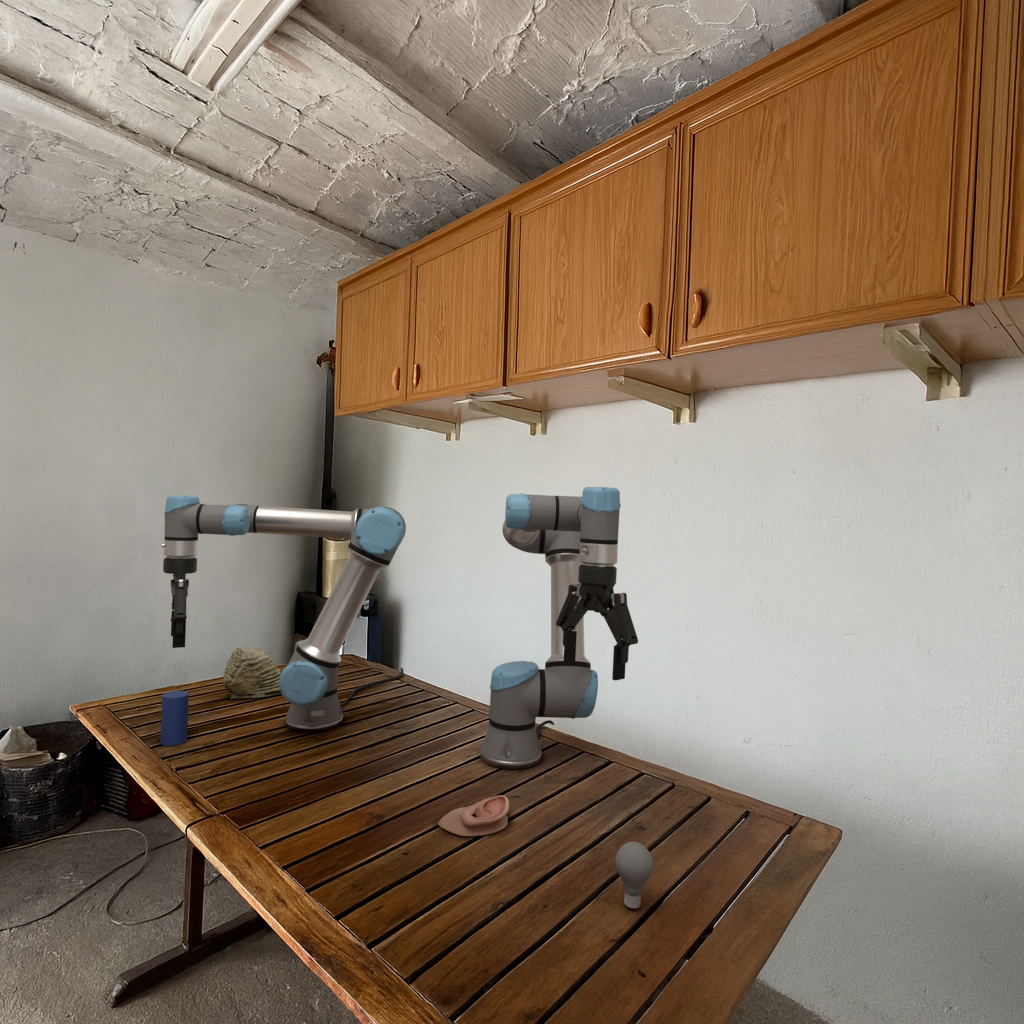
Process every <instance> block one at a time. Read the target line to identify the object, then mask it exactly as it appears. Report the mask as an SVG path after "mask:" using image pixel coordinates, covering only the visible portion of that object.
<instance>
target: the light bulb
mask: <svg viewBox="0 0 1024 1024" xmlns="http://www.w3.org/2000/svg"><path fill="white" fill-rule="evenodd" d="M614 864H615V868H616V871H617V873H618V876H619V877H620V880H621V881H622V888H623V890H624V898H623V899H624V900H623V903H624V905H625V906H627V907H628V908H630V909H638V908H640V907H641V900H642V893H643V892H644V888H645V885H646V884H647V882H648V881H649V879H650V878H651V876H652V874H653V871H654V859H653V856H652V854H651V852H650V851H649V849H648V848H647V847H646V846H645V845H644V844H642V843H640V842H637V841H628V842H625V843H623V845H621V846H620V847H619V848H618V850H617V852H616V854H615V863H614Z"/></svg>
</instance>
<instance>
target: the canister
mask: <svg viewBox="0 0 1024 1024" xmlns="http://www.w3.org/2000/svg"><path fill="white" fill-rule="evenodd" d="M189 697H190V692H188V691H186V690H173V691H168V692H165V693H162V695H161V713H160V715H161V716H160V741H159V743H160V745H161V746H164V747H173V746H174V747H175V746H179V745H182V744H185V743H186V742H187V741H188V729H189V727H188V726H189V703H190V702H189V699H190V698H189Z"/></svg>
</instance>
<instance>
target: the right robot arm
mask: <svg viewBox="0 0 1024 1024" xmlns="http://www.w3.org/2000/svg"><path fill="white" fill-rule="evenodd" d="M505 501H506V502H505V508H504V509H505V513H504V520H503V524H502V535H503V538H504V539H505V542H507V544H509V546H511V547H513V548H515V549H517V550H519V551H521V552H524V553H529V554H533V555H535V554H537V555H544V556H545V557H544V558H545V559H544V560H545V563H547V565H548V566H549V567H550V634H551V635H550V645H551V646H550V657H548V659H547V660H546V661H545V663H544V668H539V666H538V664H537V663H536V662H534V661H527V660H516V661H515V660H514V661H508V662H505V663H501V664H499V665H496V667H495V668H493V670H492V672H491V676H490V684H489V689H490V699H489V714H488V717H489V718H488V727H487V730H486V733H485V736H484V739H483V742H482V744H481V746H480V755H479V756H480V759H481V761H483V762H484V763H486V764H487V765H490V766H492V767H495V768H499V769H503V770H504V769H505V770H524V769H529V768H532V767H534V766H537V765H538V764H539V763H541V760H542V747H541V745H540V739H539V737H541V736H542V734H543V733H542V730H541V728H542V727H543V726H545V725H548V724H550V725H551V726H554V725H555V723H554V721H553V720H550V719H547V720H544V721H543V722H541V723H539V724H538V725H537V726H536V719H537V718H551V719H552V718H554V719H555V718H557V719H558V718H559V719H572V720H575V719H585V718H586V719H587V718H589V717H590V716H592V714H593V713H594V710H595V707H596V703H597V697H598V691H599V679H598V678H599V677H598V676H599V675H598V672H597V671H596V670H594V669H592V665H591V664H592V663H591V661H590V660H589V659H588V658H587V657H586V656H585V617H584V616H585V615H586V614H587V613H588V611H589V612H594V613H597V614H598V613H600V614H599V615H600V616H601V617H603V618H604V620H605V623H606V624H607V626H608V628H609V630H610V633H611V635H612V636H613V638H614V640H615V642H616V644H615V645H613V653H612V655H613V657H612V675H611V676H612V677H611V679H612V681H615V682H616V681H620V680H625V679H626V664H628V662H629V653H630V652H629V651H630V646H632V645H636V644H638V643H639V638H638V635H637V632H636V629H635V625H634V622H633V619H632V616H631V612H630V609H629V606H628V595H627V593H626V592H616V593H615V591H614V587H615V585H616V584H617V574H618V573H617V572H618V568H617V567H616V566H615V565H617V564H618V552H619V544H618V543H619V527H620V511H621V493H620V490H619V489H618V488H616V487H606V486H586V487H584V488H583V490H582V494H581V496H574V495H572V496H571V495H547V494H528V493H527V494H526V493H524V492H523V493H510V494H508V495H507V496H506V498H505Z"/></svg>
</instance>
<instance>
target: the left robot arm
mask: <svg viewBox="0 0 1024 1024" xmlns="http://www.w3.org/2000/svg"><path fill="white" fill-rule="evenodd" d="M163 514H164V538H163V540H164V543H161V545H160V547H161V548H164V549H163V555H164V558H163V561H162V571H163V573H165V574H167V575H172V577H173V578H172V579H170V588H171V589H170V590H171V591H170V592H171V597H172V600H171V617H170V637H172V644H171V645H172V649H179V648H186V635H187V633H186V632H187V618H188V615H187V597H188V595H189V587H190V580H189V578H186V575H187V574H194V573H195V574H196V572H197V571H198V558H197V556H198V555H199V535H220V536H221V535H223V536H232V537H233V536H245V535H246V534H251V533H252V534H267V535H284V536H298V537H315V538H329V539H330V538H331V539H345V540H349V542H348V545H347V551H348V553H349V556H348V557H347V560H346V562H345V564H344V566H343V568H342V570H341V572H340V573H339V576H338V578H337V580H336V581H335V584H334V586H333V588H332V590H331V592H330V594H329V596H328V598H327V600H326V602H325V604H324V605H323V608H322V610H321V612H320V614H319V615H318V618H317V620H316V622H315V623H314V625H313V627H312V630H311V631H310V633H309V636H308V637H307V638H306V639H303V640H302V639H301V640H298V641H297V642H296V643H295V648H294V652H293V654H292V655H291V658H290V660H289V661H288V664H287V665H286V666H285V667H284V668H283V669H282V670H281V675H280V679H279V688H280V691H281V693H280V694H281V695H282V696H283V698H284V699H285V700H286V701H287V702H289V703H290V704H289V708H288V711H287V713H286V715H285V726H286V728H287V729H289V730H291V731H294V732H295V731H296V732H301V733H316V732H325V731H329V730H332V729H335V728H337V727H339V726H340V725H342V723H343V722H344V714H343V709H342V707H343V706H345V705H346V704H347V703H348V702H349V701H350V700H351V699H352V698H353V696H354V694H355V693H356V692H358V691H360V690H362V689H364V688H367V687H370V686H374V685H378V684H383V683H386V682H390V681H394V680H397V679H400V678H401V677H403V675H404V667H401V668H399V671H400V674H398V675H396V676H392V677H387V678H384V679H380V680H376V681H372V682H368V683H366V684H363V685H360V686H358V687H355V689H353V690H352V691H351V692H350V694H349V696H348V697H346V699H345V700H344V701H342V702H340V699H339V695H338V682H339V681H338V680H339V678H338V677H339V666H340V664H341V662H342V658H341V654H340V651H341V648H342V646H343V645H344V643H345V640H346V639H347V636H348V634H349V633H350V631H351V629H352V627H353V625H354V623H355V621H356V618H357V617H358V616H359V615H358V614H359V613H360V611H361V609H362V607H363V605H364V603H365V601H366V599H367V597H368V595H369V593H370V591H371V589H372V587H373V585H374V583H375V581H376V579H377V578H378V575H379V573H380V571H381V570H382V569H385V568H388V567H389V566H390V564H391V562H392V560H393V558H394V556H395V554H396V552H397V550H398V549H399V546H400V545H401V544H402V542H403V540H404V537H405V535H406V532H407V526H406V525H407V524H406V521H405V519H404V517H403V515H402V514H401V513H400V512H399V511H397V510H396V509H394V508H392V507H390V506H389V507H388V506H376V507H372V508H356V509H355V510H354V511H348V510H347V511H346V510H333V509H332V510H331V509H319V508H318V509H317V508H316V509H315V508H302V507H301V508H300V507H285V506H270V505H254V504H248V503H246V504H245V503H237V504H205V503H201V502H200V497H199V496H197V495H182V494H181V495H179V494H177V495H176V494H175V495H174V494H172V495H169V496H167V497H166V499H165V509H164V512H163ZM401 674H402V675H401Z"/></svg>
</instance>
